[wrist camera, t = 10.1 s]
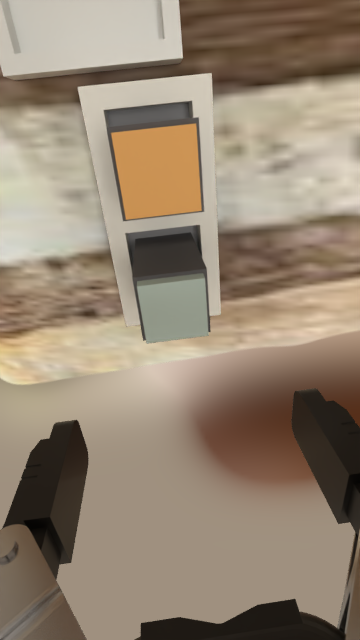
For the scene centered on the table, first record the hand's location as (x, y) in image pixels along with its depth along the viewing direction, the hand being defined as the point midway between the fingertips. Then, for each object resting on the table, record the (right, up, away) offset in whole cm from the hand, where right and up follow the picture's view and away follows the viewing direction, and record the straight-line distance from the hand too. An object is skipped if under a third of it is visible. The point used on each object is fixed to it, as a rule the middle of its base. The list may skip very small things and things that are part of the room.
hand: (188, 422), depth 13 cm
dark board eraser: (-1, +9, +16) cm, 18 cm away
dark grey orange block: (-2, +15, +12) cm, 20 cm away
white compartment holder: (-2, +13, +15) cm, 20 cm away
